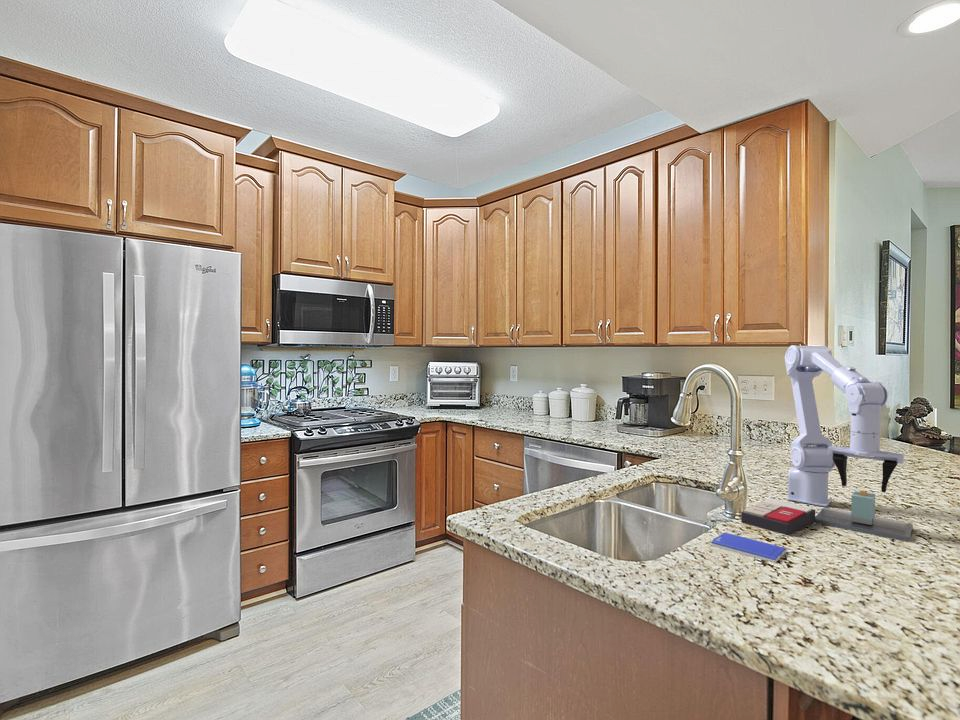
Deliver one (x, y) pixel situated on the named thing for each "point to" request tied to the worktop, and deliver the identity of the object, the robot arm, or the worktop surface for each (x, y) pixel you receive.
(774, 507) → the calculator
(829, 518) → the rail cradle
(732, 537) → the hard drive
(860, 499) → the block
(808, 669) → the worktop surface
